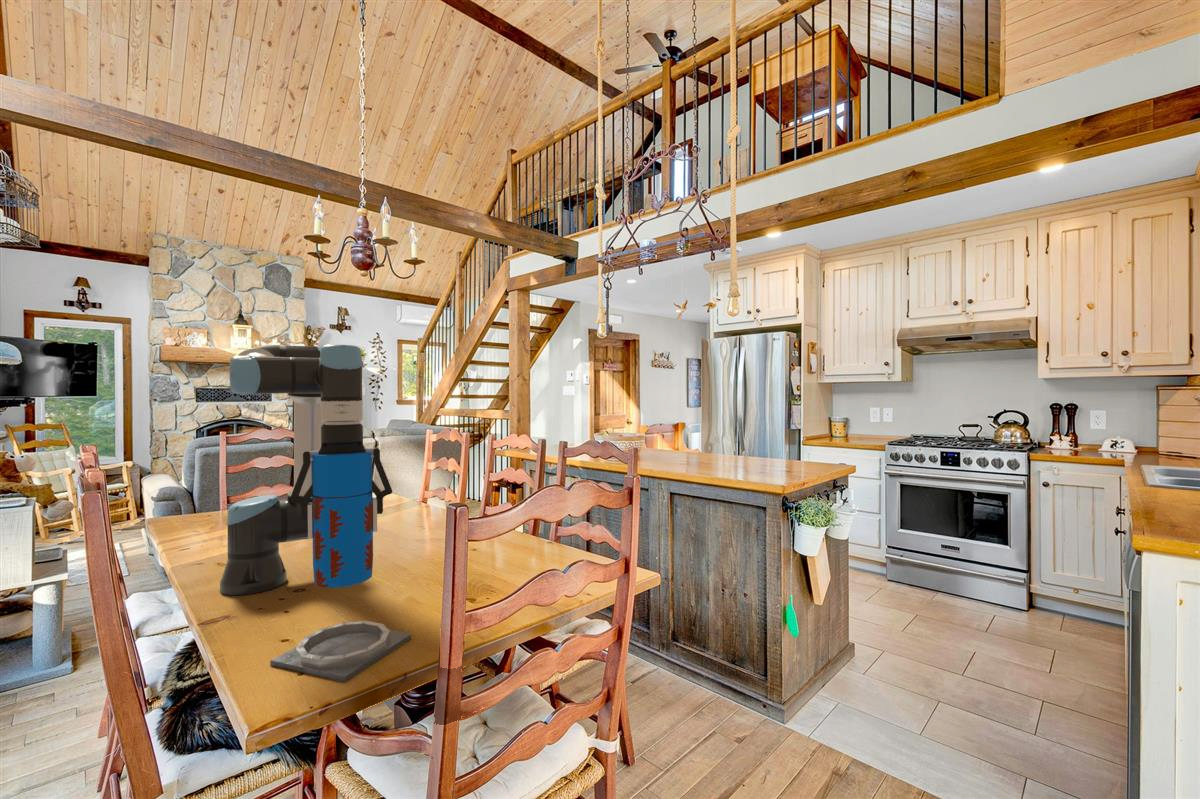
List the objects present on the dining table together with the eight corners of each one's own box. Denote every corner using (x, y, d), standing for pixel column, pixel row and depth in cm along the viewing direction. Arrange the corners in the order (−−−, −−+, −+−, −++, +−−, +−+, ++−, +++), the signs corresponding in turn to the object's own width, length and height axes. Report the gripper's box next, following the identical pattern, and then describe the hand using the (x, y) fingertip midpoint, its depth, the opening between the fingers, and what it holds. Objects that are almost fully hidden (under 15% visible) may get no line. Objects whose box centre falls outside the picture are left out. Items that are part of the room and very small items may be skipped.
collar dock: (270, 665, 103) (270, 652, 102) (344, 626, 119) (344, 615, 119) (344, 682, 96) (344, 668, 96) (411, 638, 113) (411, 626, 113)
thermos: (357, 566, 115) (356, 449, 115) (383, 576, 108) (382, 452, 108) (303, 580, 107) (302, 453, 106) (328, 592, 100) (326, 457, 100)
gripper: (271, 425, 99) (273, 545, 99) (406, 422, 109) (407, 531, 109) (276, 423, 106) (277, 536, 106) (402, 420, 116) (403, 523, 116)
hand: (343, 533), depth 107 cm, fingers closed on thermos, 11 cm apart
